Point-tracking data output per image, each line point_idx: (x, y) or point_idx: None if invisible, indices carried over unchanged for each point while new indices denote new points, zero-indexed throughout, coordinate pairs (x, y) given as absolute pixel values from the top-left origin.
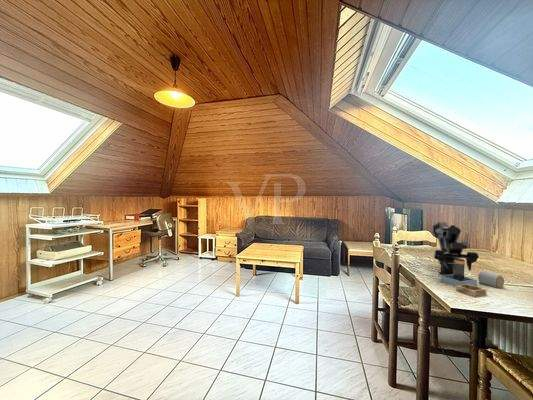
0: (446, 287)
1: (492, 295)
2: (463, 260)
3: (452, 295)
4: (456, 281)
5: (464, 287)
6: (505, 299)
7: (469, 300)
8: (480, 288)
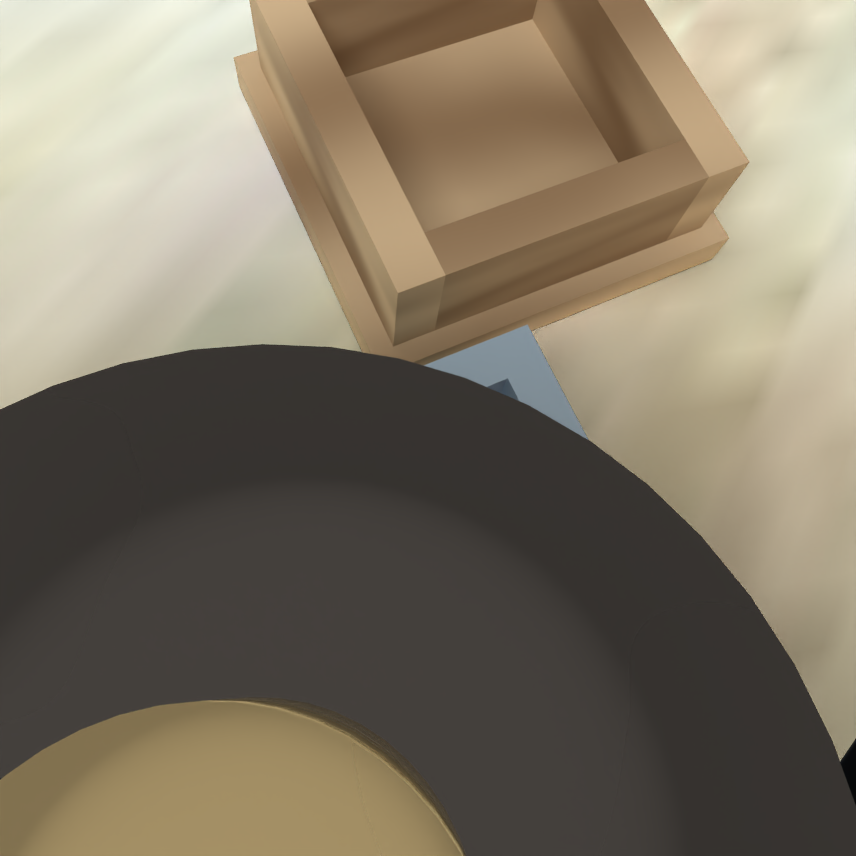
0: (740, 509)
1: (83, 177)
2: (67, 388)
3: (810, 112)
4: None
5: (634, 52)
6: (14, 32)
7: None
8: (321, 35)
